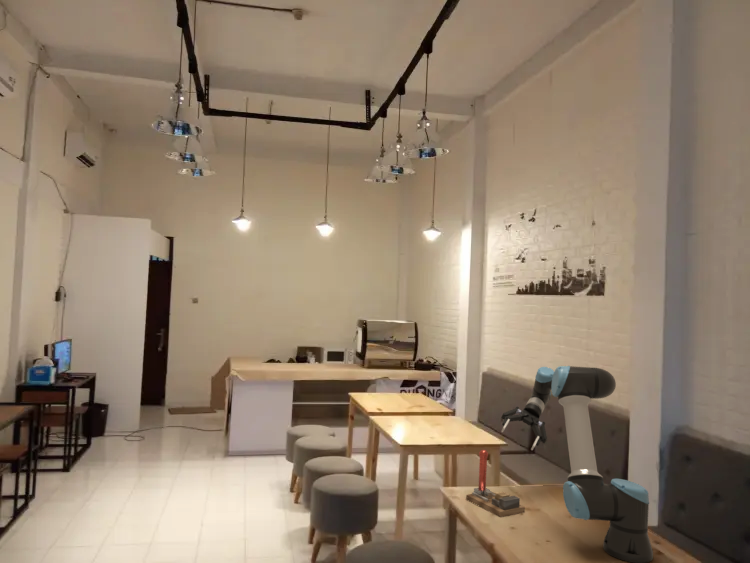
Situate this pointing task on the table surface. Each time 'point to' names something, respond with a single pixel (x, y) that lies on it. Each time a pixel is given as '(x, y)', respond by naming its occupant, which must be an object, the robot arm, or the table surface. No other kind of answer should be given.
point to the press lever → (483, 476)
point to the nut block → (501, 495)
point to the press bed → (498, 504)
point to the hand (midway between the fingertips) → (517, 439)
